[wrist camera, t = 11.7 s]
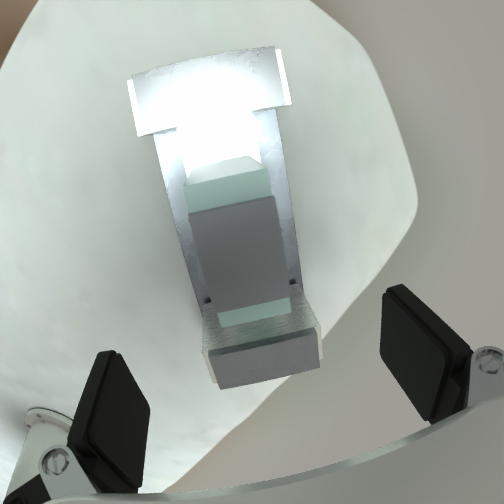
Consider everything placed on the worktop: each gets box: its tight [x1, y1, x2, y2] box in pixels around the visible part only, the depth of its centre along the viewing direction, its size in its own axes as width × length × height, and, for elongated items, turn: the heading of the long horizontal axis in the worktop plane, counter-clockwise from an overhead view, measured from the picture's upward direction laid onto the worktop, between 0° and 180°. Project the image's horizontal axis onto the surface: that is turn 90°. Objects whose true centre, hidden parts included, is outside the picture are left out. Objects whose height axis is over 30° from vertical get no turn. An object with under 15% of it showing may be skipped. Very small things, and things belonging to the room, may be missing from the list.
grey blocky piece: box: [127, 46, 323, 390], centre depth 23 cm, size 24×10×10 cm, turn 10°
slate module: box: [183, 155, 291, 328], centre depth 22 cm, size 5×9×10 cm, turn 11°
